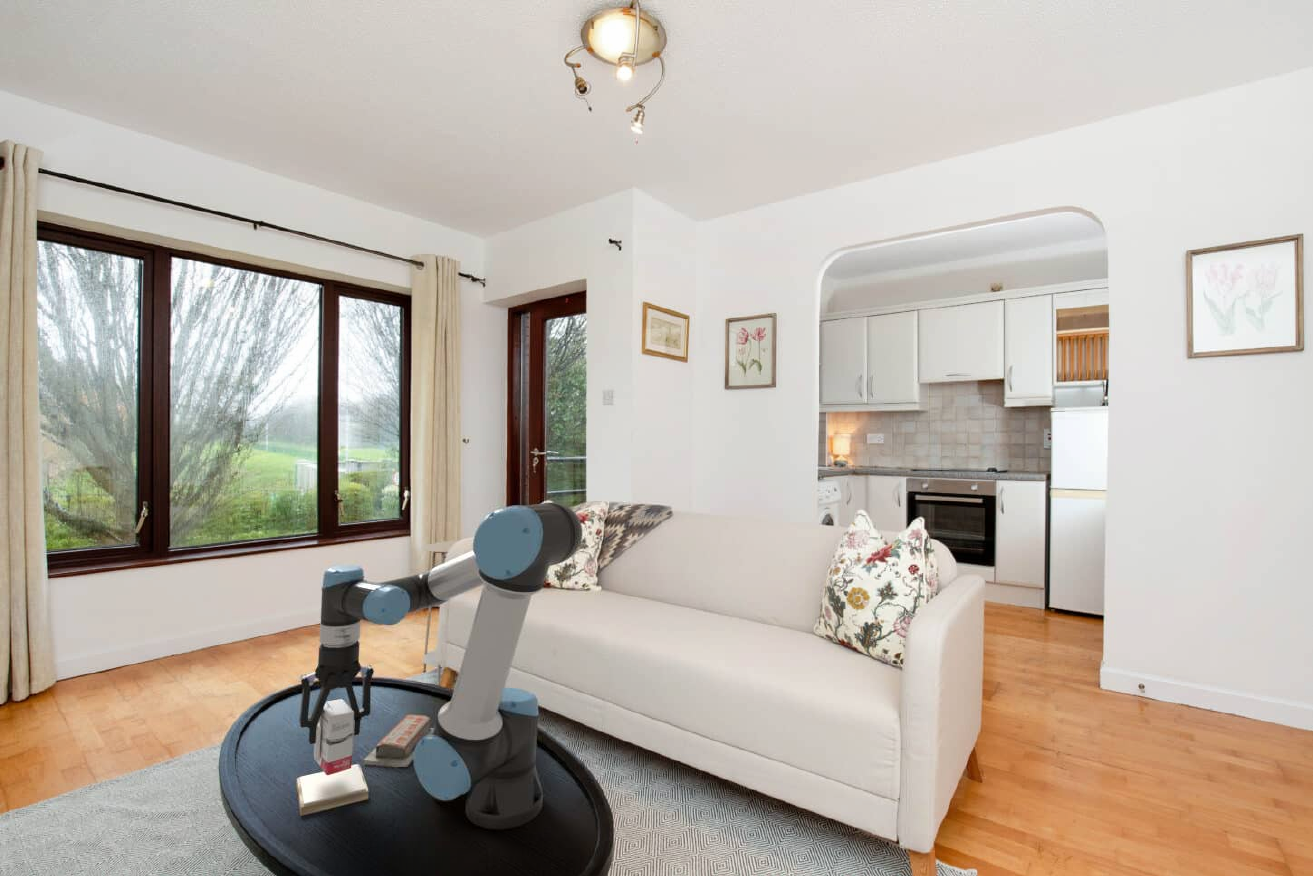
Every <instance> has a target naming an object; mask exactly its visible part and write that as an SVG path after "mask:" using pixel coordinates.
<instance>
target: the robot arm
mask: <svg viewBox="0 0 1313 876" xmlns="http://www.w3.org/2000/svg"><path fill="white" fill-rule="evenodd" d="M582 540H583V526H582V523H581V520H580V519H579V516H578V514H577V513H576V512H575V511H574V510H572V508H570V507H568V506H567V505H565V504H564V503H563V504H562V503H559V502H543V503H537V504H536V503H535V504H526V505H520V504H519V505H518V504H517V505H516V504H515V505H510V506H507V507H503V508H500V509H496V510H495V511H493V512H490V513H489V514H488V515H487V516H486V517H484V518H483V519H482V521H481V522H480V523H479V524H478V527H477V529H476V531H475V533H474V536H473V543H472V550H471V551H469V552H466V553H464V554H462V555H460V556H458V557H456V558H453V559H451V560H448V561H447V562H444V563H442V564H440V565H437V566H435V567H433V568H430V569H428V570H426V571H423V572H421V573H418V574H415V575H411V576H404V577H401V578H397V579H391V580H386V581H382V582H375V581H368V580H365V579H364V578H365V576H364V569H363V568H362V567H360V566H358V565H338V566H333V567H330V568H328V569H326V570H325V571H324V573H323V578H322V579H323V580H322V585H321V603H320V604H321V606H320V607H321V608H320V610H321V611H320V624H319V643H320V645H319V646H318V659H317V660H318V661H317V667H316V669H315V670H314V672H311V673H309V674H301V676H300V682H301V685H302V693H301V703H300V704H301V705H300V712H299V724H300V728H303V729H304V728H308V742H309V744H310V745H312V744H313V746H314V747H313V758H314V761H315V762H317V761H318V760H319V754H320V736H321V726H320V723H318V722H319V719H320V716H321V714H322V711H323V708H324V705H325V702H327V700H328V696H329V695H330V693H331V691H332V690H335V689H338V688H339V689H344V688H345V691H346V695H347V698H348V702H349V705H350V706H349V707H350V708H351V709H352V710H353V711H354V722H353V742H352V754H354V741H355V736H358V735H359V734H360V732H361V721H362V718H364V717H367V716H369V715H370V714H371V697H372V696H371V691H372V690H371V688H372V687H371V686H372V685H371V684H372V683H371V682H372V678H373V675H374V673H375V670H374V669H373V666H372V665H370V664H369V665H367V666H366V665H361V664H360V661H359V659H360V658H359V657H360V645H361V644H360V641H359V640H360V638H361V622H362V621H366V622H369V623H371V624H374V625H380V626H394V625H397V624H398V623H400V622H401V621H402V620H403V619H405V617H406V616H407V614H411V613H413V612H416V611H420V610H424V609H428V608H434V607H437V606H441V605H442V604H444V603H447V602H448V601H450V600H451V599H452V598H456V597H457V596H460V595H462V594H465V593H468V592H470V591H472V590H474V589H477V588H480V587H482V586H483V587H482V590H481V593H480V597H479V599H478V604H477V608H476V610H475V611H476V612H475V613H474V614H475V615H474V617H473V622H472V625H471V628H470V629H471V630H470V632H469V636H468V639H467V642H466V643H467V644H466V646H465V651H464V654H463V657H462V660H461V664H460V667H459V672H458V675H457V678H456V682H455V685H454V689H453V692H452V696H451V699H450V701H448V702H446V703H444V704H443V705H442V706H441V707H440V709H439V711H438V714H437V717H436V720H435V724H434V727H433V728H434V730H433V732H432V733H431V734H429V735H426V736H424V737H423V739H421V740H420V741H419V742H418V744H417V745H416V747H415V750H414V758H413V766H414V771H415V775H417V777H418V781H419V783H420V784H421V786H422V787H423V788H424V790H425V791H426V792H427V793H428V794H430V796H431V795H432V796H434V797H435V798H437V799H440V800H452V799H454V798H456V797H458V796H459V795H461V794H462V795H465V794H466V793H467V795H466V798H465V799H466V800H465V815H466V817H467V819H468V821H469V822H471V823H473V824H474V825H476V826H477V827H480V828H483V829H484V828H485V829H488V830H506V829H508V830H509V829H513V828H516V827H519V826H522V825H525V824H527V823H529V822H531V821H532V820H534V818H536V817H537V816H538V815H539V813H540V812H541V811H542V809H543V808H542V807H543V800H544V799H543V797H544V796H543V795H544V794H543V789H542V786H541V783H540V778H539V774H538V772H537V768H536V766H537V765H536V762H537V760H536V759H537V746H538V745H537V740H538V738H537V737H538V725H539V724H538V722H539V715H540V713H539V700H538V698H537V697H536V695H535V694H534V693H532V692H530V691H528V690H525V689H522V688H518V687H517V688H514V687H506V684H507V680H508V676H509V674H510V670H511V666H512V663H513V660H514V656H515V654H516V649H517V647H518V642H519V639H520V636H521V632H522V630H523V627H524V622H525V619H526V617H527V612H528V610H529V605H530V602H531V598H532V596H533V595H535V594H537V593H539V592H541V591H542V590H543V588H544V583H545V581H546V578H547V575H548V571H549V568H550V567H552V566H555V565H558V564H562V563H564V562H565V561H568V560H569V559H571V558H572V557H573V556H574V555H575V554H576V553H577V551H578V549H579V548H580V547H581V543H582ZM361 620H362V621H361ZM359 673H360V676H361V678H362V697H361V698H362V707H361V708H360V709H359V705H358V702H357V698H356V694H355V690H354V686H353V681H354V679H355V678H356V677H357V676H358V674H359ZM316 679H317V680H318V682H319V683H320V684H321V687H320V691H319V694H318V696H317V699H316V702H315V705H314V708H313V709H312V710H313V711H312V713H311V716H310V718H309V709H310V701H311V700H310V699H311V690H312V689H311V686H312V685H314V681H315V680H316ZM432 796H431V797H432ZM540 810H541V811H540Z"/></svg>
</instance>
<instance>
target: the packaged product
mask: <svg viewBox="0 0 1313 876" xmlns="http://www.w3.org/2000/svg"><path fill="white" fill-rule="evenodd" d="M430 723H431V718H430V717H429V716H427V715H422V714H406V716H404V717H403V718H402V720H401V721H400V722H398V723H397V724H396V725H395V726H394V727H393V728H392V729H391V730H390V731H389V732H388V733H387V734H386V735H385V736H384V737H383V738H382V739H381V740H380V741H379V742H378V743H377V745H376V746H375V748H374V749H373V750H372V751H371V752H370V753H369V754H368V755H367V756H366V757H365V758H364V759H363V763H364V764H363V765H365V766H373V765H376V767H386V766H387V768H398V767H406V768H407V767H408V766H409V765H410V764H411V763H412V762H413V761H414V759H413V758H414V750H415V747H416V745H417V744H418V742H419V741H420V740H421V739H423V737H424V736H426V735H429V734H431V733H432V732H433V730H434V727H430Z"/></svg>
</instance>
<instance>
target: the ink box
mask: <svg viewBox="0 0 1313 876" xmlns="http://www.w3.org/2000/svg"><path fill="white" fill-rule="evenodd" d="M353 722H354V711H353V710H352V709H351V706H349V705H348V704H347V702H345V700H343V699H342V698H340V699H333V700H328V701H326V702H325V705H324V708H323V711H322V714H321V716H320V719H319V722H318V723H320V726H321V736H320V754H319V760H318V761H316V762H317V764H318V765H319V767H320V768H321V769H322V772H325V774H326V775H331V774H334V773H338V772H341V771H344V770H347V769H350V768H351V765H353V763H352V762H353V760H352V759H353V753H352V742H353Z"/></svg>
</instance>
